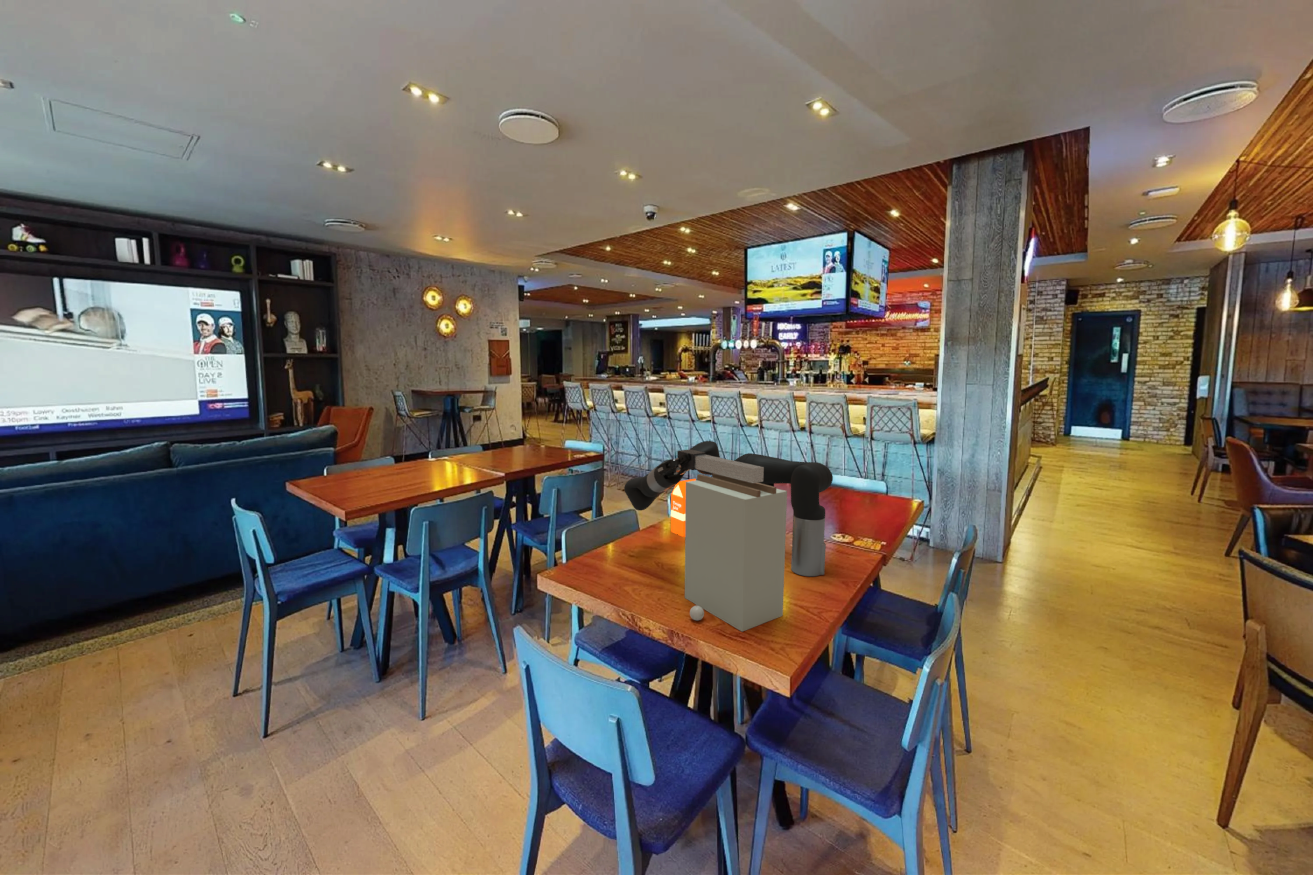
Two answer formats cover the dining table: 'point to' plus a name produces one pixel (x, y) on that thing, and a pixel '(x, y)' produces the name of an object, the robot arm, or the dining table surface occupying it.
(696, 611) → the white ball
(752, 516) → the stand
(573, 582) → the dining table surface
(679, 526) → the orange juice
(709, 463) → the rod
